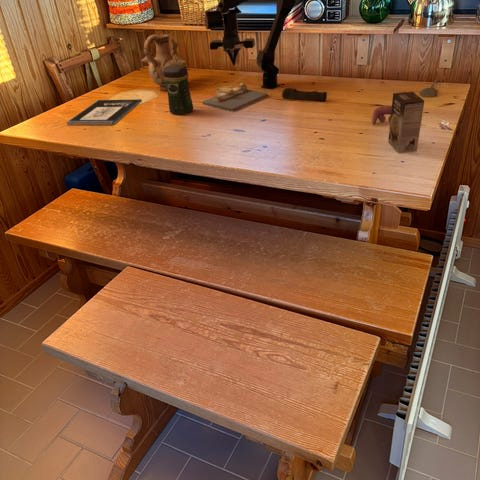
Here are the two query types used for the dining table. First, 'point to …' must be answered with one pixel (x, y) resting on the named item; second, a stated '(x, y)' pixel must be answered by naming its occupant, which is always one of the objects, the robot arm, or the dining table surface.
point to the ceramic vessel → (161, 58)
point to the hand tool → (303, 95)
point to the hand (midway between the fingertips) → (234, 64)
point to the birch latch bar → (227, 95)
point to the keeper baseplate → (235, 99)
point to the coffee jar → (178, 89)
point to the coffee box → (405, 121)
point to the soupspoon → (430, 91)
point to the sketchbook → (104, 112)
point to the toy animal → (381, 114)
